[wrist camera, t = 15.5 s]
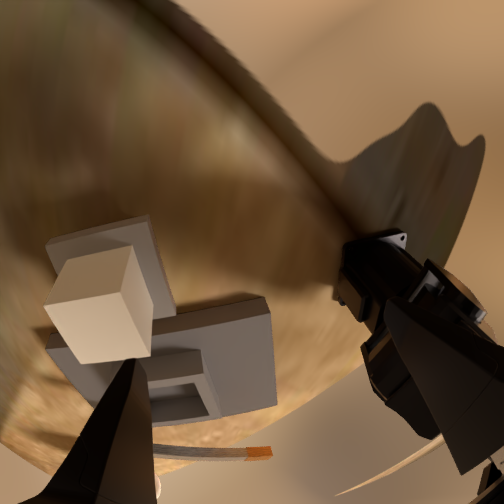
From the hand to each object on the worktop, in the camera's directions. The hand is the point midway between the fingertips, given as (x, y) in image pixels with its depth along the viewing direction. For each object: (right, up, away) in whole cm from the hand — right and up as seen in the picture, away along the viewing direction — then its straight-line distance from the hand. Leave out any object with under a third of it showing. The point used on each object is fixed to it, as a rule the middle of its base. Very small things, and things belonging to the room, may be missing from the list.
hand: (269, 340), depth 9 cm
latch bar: (-7, -17, +16) cm, 24 cm away
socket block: (-9, -8, +17) cm, 21 cm away
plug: (-10, +3, +10) cm, 14 cm away
